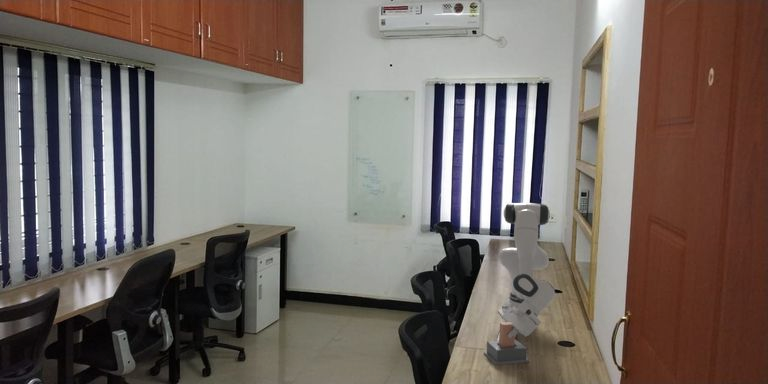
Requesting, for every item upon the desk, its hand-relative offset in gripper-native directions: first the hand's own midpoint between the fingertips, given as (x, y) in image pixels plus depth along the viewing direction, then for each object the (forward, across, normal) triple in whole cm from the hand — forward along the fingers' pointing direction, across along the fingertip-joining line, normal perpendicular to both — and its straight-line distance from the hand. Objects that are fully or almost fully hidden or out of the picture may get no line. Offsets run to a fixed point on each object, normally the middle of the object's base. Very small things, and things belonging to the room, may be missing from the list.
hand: (505, 334), depth 235 cm
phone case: (0, -22, +16) cm, 27 cm away
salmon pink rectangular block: (+4, 0, +5) cm, 6 cm away
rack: (+7, 0, +8) cm, 11 cm away
